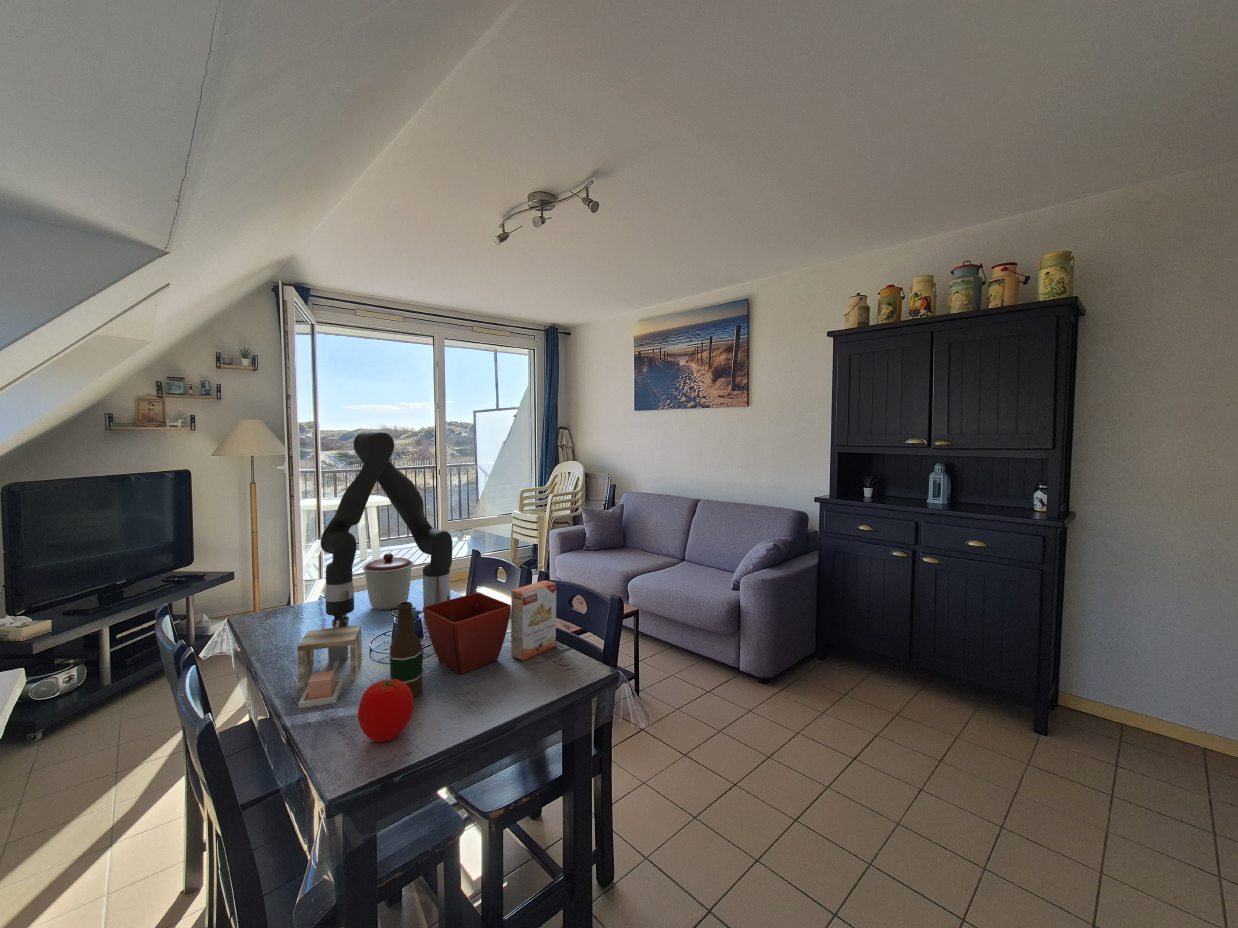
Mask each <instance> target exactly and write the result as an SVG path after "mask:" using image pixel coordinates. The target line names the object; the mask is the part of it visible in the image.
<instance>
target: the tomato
mask: <svg viewBox="0 0 1238 928" xmlns="http://www.w3.org/2000/svg"><path fill="white" fill-rule="evenodd" d="M414 700H415V699H414V697H413V695H412V692H411V690H410V688H409V687H408V686H407V685H406V684H405V683H404V682H402V681H400V680H397V679H390V678H389V679H385V680H384V679H381V680H380V681H376V682H374V683H373V684H371V685H369V686H368V687H367V688H366V689H365V690H364V692H363V694H362V696H361V699H360V701H359V702H360V703H359V706H358V710H357V719H358V723H359V726H360V728H361V731H362V732H363V733H364V734H365V736H366V737H367V738H368V739H370V740H371V741H373V742H377V743H384V742H389V741H391V740H393V739H395V738H396V737H397V736H398V735H400V734H401V733H402V732H403V731H404V729H405V728H406V727H407V726H408V724H409V722H410V719H411V718H412V716H413V712H414V707H415V706H414V705H415V704H414V703H415V702H414Z"/></svg>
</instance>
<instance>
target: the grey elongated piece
mask: <svg viewBox="0 0 1238 928" xmlns="http://www.w3.org/2000/svg"><path fill="white" fill-rule="evenodd" d="M327 651H328V652H327V654H328V655H327V658H328V660H327V661H328V663H330V662H334V664H333V666H332V668H331V670H330V671H332V670H335V673H336V672H337V669H338V667H339V665H340V662H341V661H346V660H349V645H348V646H339V647H331V648H327ZM344 683H345V682H344V678H342V679H335V691H334V693H333V695H332V697H327V698H321V699H314V700H308V686H306V688H305V691H304V692H303V694H302V695H301V698H300V700H299V702H298V705H297V706H298V709H303V708H309V707H311V708H312V707H317V706H323V705H328V704H336V703H337V701H338V698H339V696H340V693H341V691H342V688H343V686H344Z"/></svg>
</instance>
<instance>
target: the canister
mask: <svg viewBox="0 0 1238 928" xmlns="http://www.w3.org/2000/svg"><path fill="white" fill-rule="evenodd" d="M413 565H414V562H413V560H410V559H408V558H406V557H394V555H393V553H390V552H388V553H384V554H383V557H382V558H378V559H375V560H374V559H373V560H372V561H369V562H368V563H366V564H365V565H363V566H362V570H363V571H364V574H365V575H364V576H365V581H366V582H365V583H366V589H367V595H368V600H369V604H370V606H371V607H372V608H373V609H374V610H378V611H387V610H388V611H389V610H394V609H395V610H396V609H398V608H397V606H398V604H400V603H402V602H408V600H409V595H410V587H411V578H412V566H413Z"/></svg>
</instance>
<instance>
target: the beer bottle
mask: <svg viewBox="0 0 1238 928" xmlns="http://www.w3.org/2000/svg"><path fill="white" fill-rule="evenodd" d="M412 608H413V604H412V602H411V601H407V602H402V603H400V604H398V606H397V608H396V609H397V610H398V611H397V612H398V613H397V629H396V634H395V636H394V638H393V639H392V640H391V644H390V647H389V672H390V676H389V677H390V678H389V679H397V680H400V681H402V682H404V683H405V684H406V685H407V686H408V687H409V688H410V690H411V692H412V695H413V698H416V697H417V696H418V695H419V694H421V692H422V691H423V659H422V658H423V651H422V650H423V649H422V643H421V640H420V637H418V635H417V634H416V633H415V629H414V622H413V613H412V610H413V609H412Z"/></svg>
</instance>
